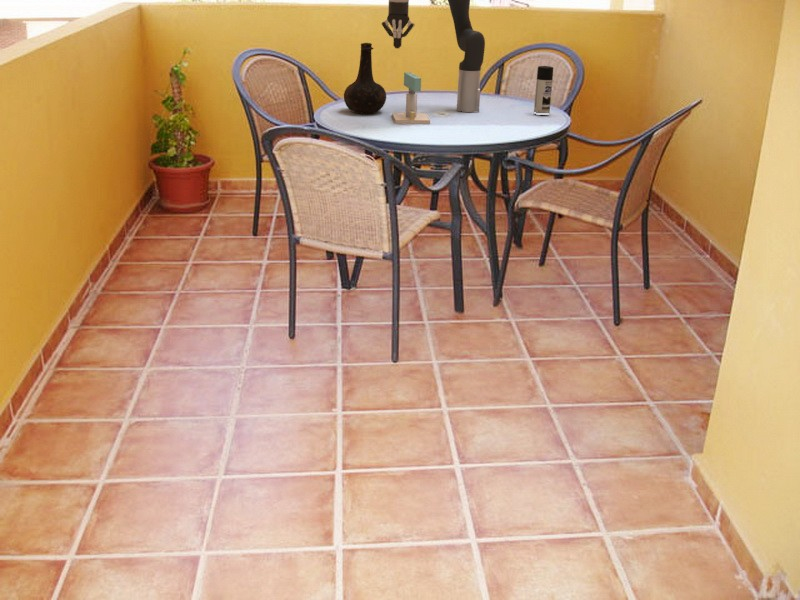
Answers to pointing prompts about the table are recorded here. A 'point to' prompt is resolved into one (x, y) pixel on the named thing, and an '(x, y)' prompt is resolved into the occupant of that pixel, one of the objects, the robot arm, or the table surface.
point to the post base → (411, 113)
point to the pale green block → (412, 82)
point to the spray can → (543, 89)
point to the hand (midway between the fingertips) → (397, 48)
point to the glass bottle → (365, 87)
